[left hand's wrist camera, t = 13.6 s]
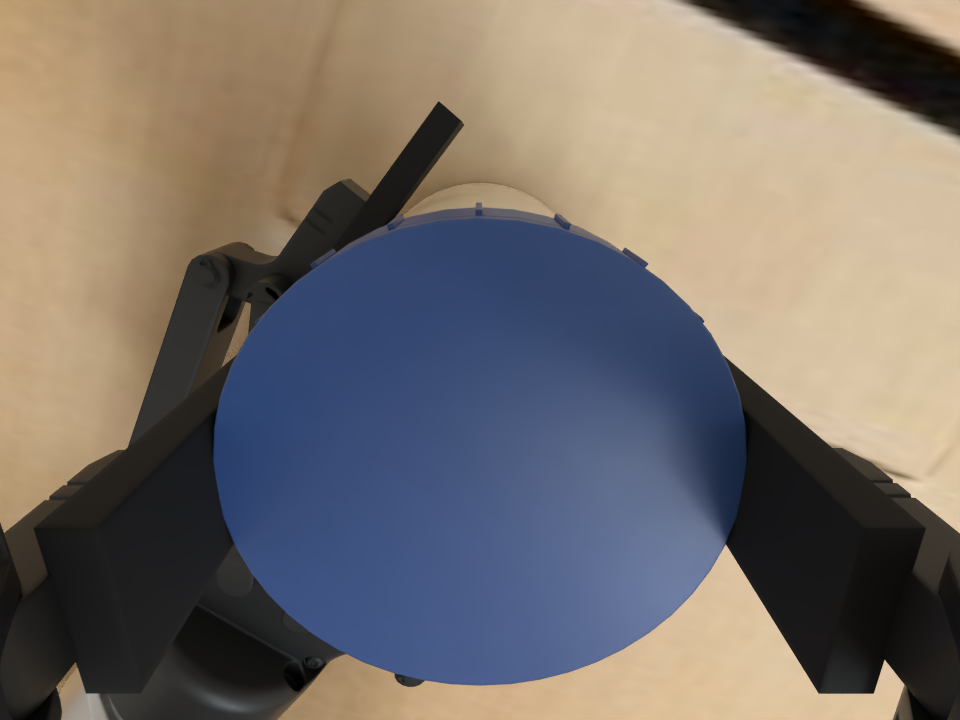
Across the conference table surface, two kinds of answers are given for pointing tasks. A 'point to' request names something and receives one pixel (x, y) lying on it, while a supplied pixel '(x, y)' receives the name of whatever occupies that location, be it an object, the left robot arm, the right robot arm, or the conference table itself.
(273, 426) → the lid
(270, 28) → the conference table surface
